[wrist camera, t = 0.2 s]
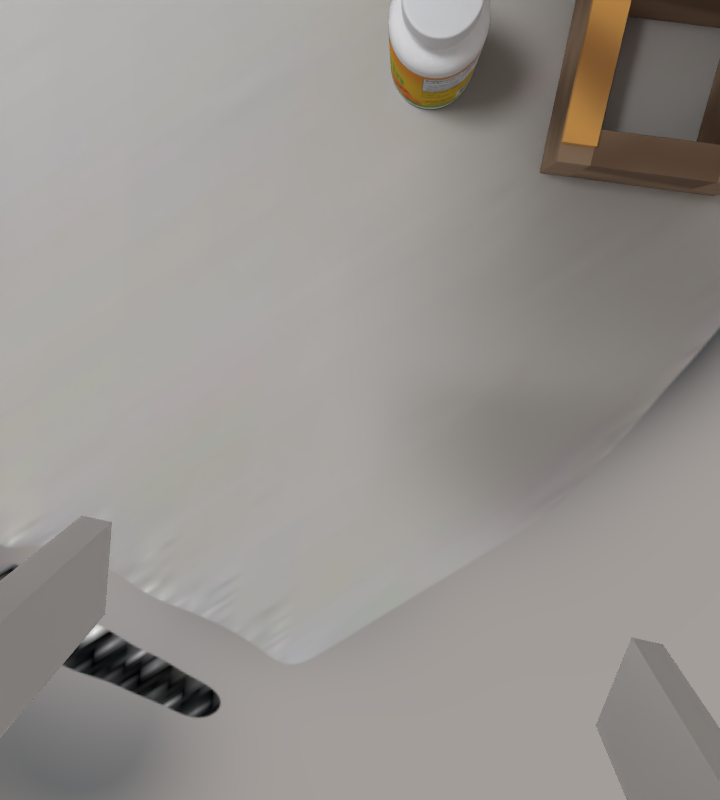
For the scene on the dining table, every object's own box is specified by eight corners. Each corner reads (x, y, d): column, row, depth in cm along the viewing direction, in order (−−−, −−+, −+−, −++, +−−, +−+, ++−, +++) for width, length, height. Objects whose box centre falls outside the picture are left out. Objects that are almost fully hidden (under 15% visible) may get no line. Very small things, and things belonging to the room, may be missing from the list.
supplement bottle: (383, 29, 34) (376, -61, 24) (467, 8, 33) (493, -94, 24) (398, 119, 35) (397, 67, 26) (479, 100, 34) (508, 39, 25)
